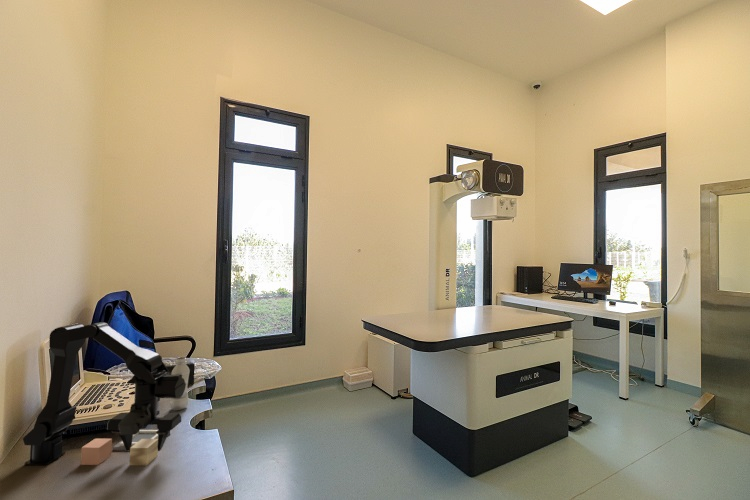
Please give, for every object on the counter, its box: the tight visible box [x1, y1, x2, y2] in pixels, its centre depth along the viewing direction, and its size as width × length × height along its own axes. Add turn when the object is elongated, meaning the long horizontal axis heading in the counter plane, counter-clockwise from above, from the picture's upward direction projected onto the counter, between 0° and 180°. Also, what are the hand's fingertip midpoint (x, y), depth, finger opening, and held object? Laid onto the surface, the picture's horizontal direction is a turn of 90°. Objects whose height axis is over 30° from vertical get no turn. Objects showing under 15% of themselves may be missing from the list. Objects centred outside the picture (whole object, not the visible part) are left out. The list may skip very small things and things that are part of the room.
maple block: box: [129, 439, 159, 466], centre depth 102 cm, size 5×5×5 cm
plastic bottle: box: [169, 356, 190, 411], centre depth 137 cm, size 6×7×20 cm
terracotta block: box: [80, 437, 113, 466], centre depth 101 cm, size 5×5×5 cm
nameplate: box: [151, 362, 196, 386], centre depth 159 cm, size 21×2×10 cm, turn 121°
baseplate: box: [112, 429, 171, 451], centre depth 111 cm, size 12×10×2 cm
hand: (144, 450), depth 102 cm, fingers open, 9 cm apart
